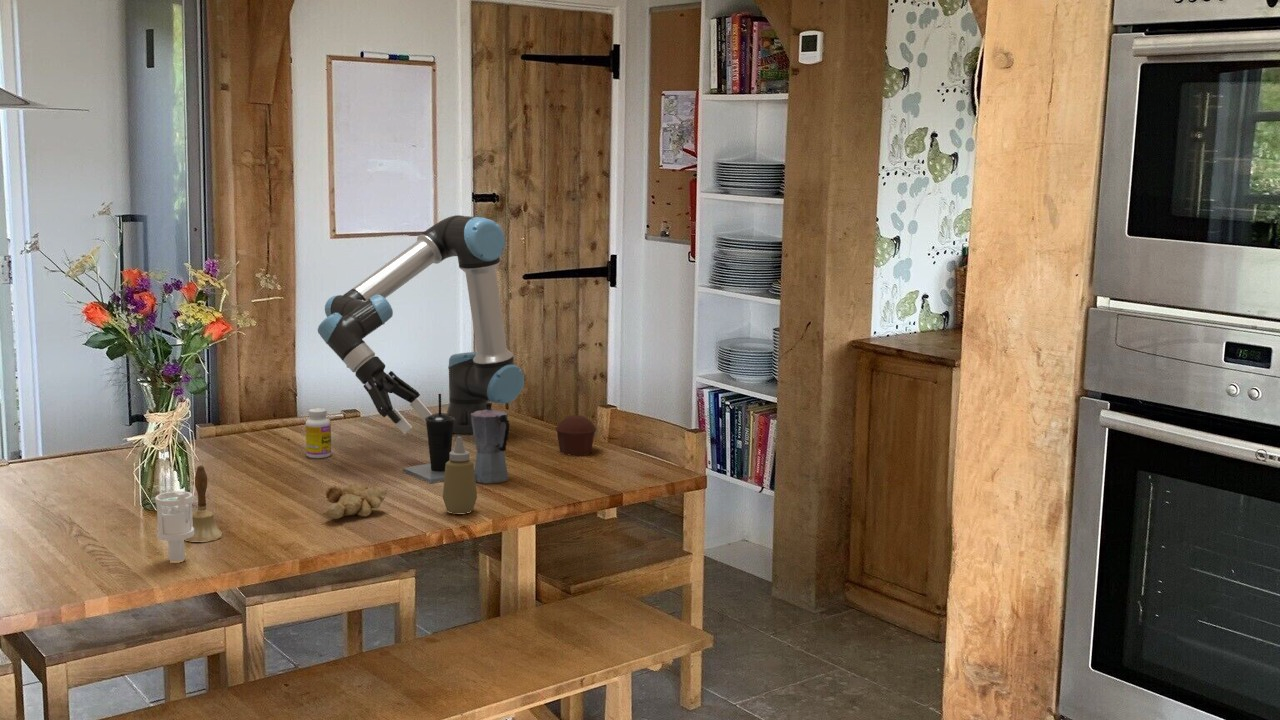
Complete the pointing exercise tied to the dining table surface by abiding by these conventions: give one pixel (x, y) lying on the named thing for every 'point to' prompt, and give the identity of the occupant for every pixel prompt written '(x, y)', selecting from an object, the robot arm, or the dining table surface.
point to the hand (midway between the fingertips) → (419, 425)
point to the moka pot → (490, 444)
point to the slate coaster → (425, 473)
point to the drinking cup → (439, 438)
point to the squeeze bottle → (459, 481)
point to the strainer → (175, 521)
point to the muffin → (575, 435)
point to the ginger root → (353, 500)
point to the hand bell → (203, 512)
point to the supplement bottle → (318, 434)
